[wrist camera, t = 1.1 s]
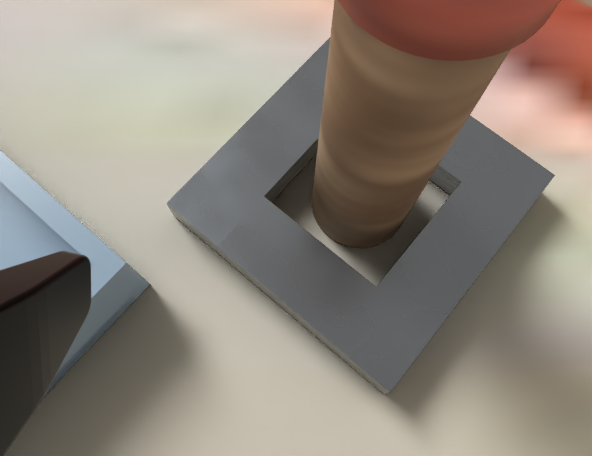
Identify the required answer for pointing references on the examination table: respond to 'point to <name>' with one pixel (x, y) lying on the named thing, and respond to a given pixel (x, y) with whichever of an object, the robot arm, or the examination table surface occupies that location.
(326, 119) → the pin
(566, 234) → the examination table surface
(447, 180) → the plate
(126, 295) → the pin tray
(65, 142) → the examination table surface
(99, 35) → the examination table surface
